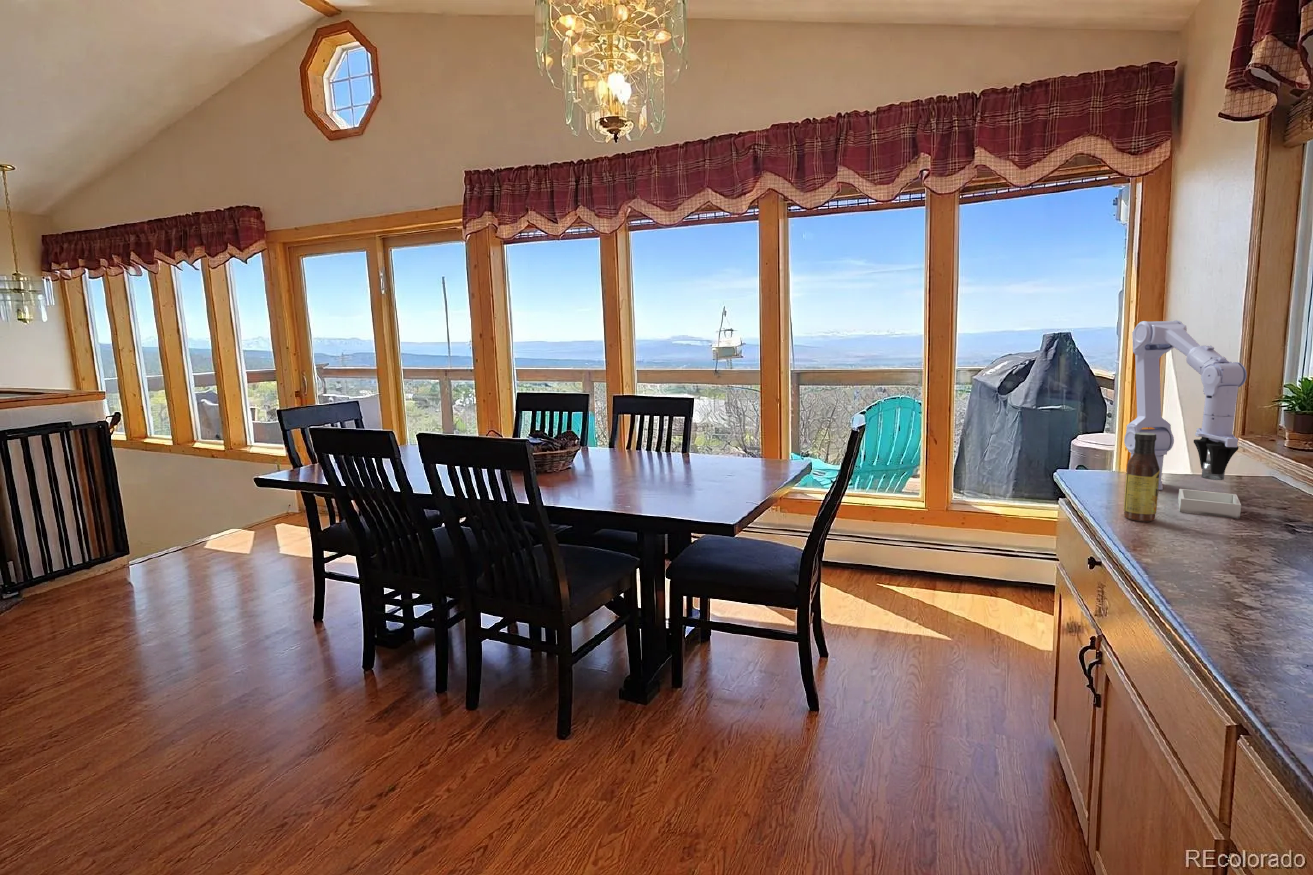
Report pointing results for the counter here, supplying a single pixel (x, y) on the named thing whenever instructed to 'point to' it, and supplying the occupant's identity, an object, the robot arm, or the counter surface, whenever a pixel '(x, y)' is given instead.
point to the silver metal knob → (1207, 470)
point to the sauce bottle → (1142, 480)
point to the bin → (1209, 503)
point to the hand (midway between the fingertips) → (1212, 471)
